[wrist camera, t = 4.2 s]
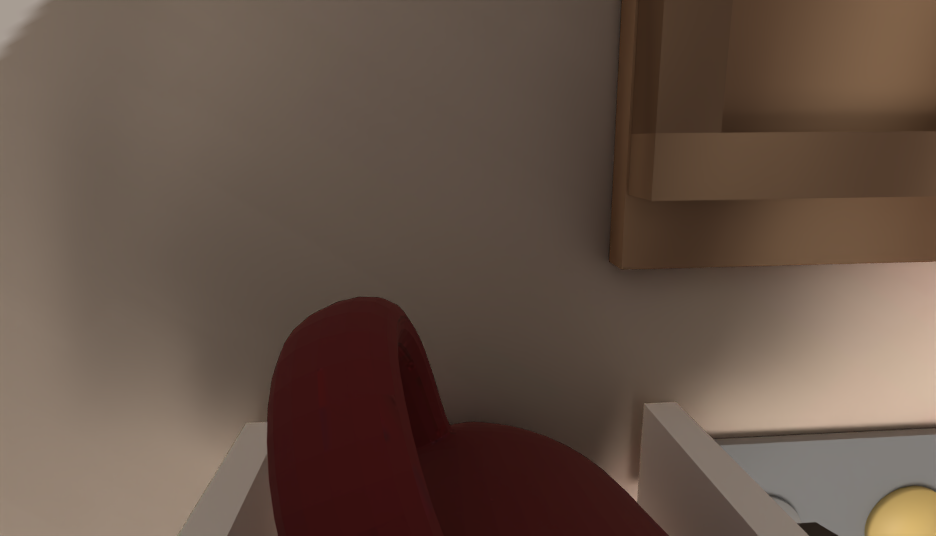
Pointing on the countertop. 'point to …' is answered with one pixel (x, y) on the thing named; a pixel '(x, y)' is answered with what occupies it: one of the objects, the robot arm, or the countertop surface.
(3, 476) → the countertop surface
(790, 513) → the key tile
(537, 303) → the countertop surface
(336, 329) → the mug
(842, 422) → the countertop surface
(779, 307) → the countertop surface
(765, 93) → the board
